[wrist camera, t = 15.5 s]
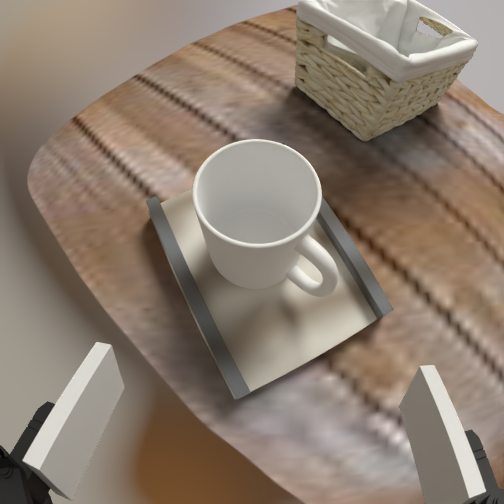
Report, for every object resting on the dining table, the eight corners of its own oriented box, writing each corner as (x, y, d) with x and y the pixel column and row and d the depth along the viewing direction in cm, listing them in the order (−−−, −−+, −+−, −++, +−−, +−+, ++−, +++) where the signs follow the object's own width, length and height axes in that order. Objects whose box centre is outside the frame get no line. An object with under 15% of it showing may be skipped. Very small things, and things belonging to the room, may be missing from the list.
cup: (254, 193, 31) (256, 121, 22) (346, 274, 28) (389, 226, 19) (191, 247, 29) (166, 188, 20) (285, 340, 26) (306, 323, 16)
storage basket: (380, 52, 45) (399, -11, 31) (448, 106, 40) (484, 43, 27) (281, 85, 40) (290, -4, 26) (365, 158, 35) (407, 64, 21)
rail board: (383, 314, 28) (396, 307, 25) (235, 397, 25) (233, 401, 23) (283, 159, 35) (286, 142, 32) (151, 216, 32) (143, 202, 29)
